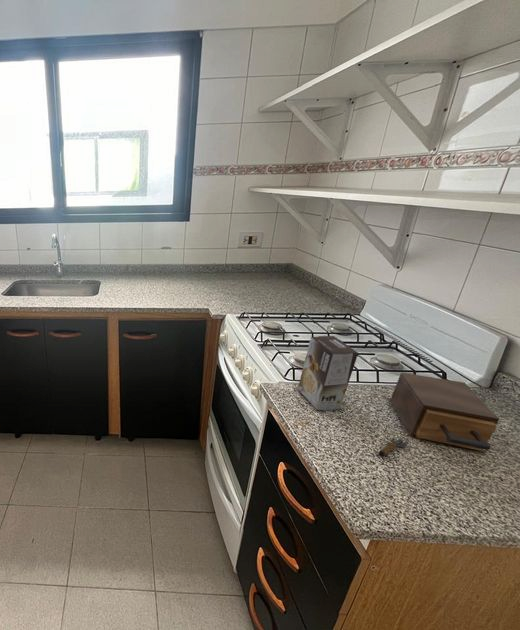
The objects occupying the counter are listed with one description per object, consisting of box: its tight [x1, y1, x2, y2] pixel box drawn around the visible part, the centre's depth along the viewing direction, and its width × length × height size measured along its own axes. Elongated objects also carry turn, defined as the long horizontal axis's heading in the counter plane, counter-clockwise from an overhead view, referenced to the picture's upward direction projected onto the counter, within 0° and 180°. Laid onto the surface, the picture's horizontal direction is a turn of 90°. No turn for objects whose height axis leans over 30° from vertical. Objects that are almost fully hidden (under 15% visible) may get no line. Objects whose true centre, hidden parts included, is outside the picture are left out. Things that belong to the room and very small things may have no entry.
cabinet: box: [389, 372, 500, 452], centre depth 79 cm, size 14×12×9 cm
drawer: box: [415, 409, 498, 452], centre depth 75 cm, size 17×11×7 cm, turn 158°
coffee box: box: [297, 335, 359, 411], centre depth 86 cm, size 9×6×16 cm
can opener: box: [378, 437, 408, 457], centre depth 74 cm, size 9×2×1 cm, turn 112°
